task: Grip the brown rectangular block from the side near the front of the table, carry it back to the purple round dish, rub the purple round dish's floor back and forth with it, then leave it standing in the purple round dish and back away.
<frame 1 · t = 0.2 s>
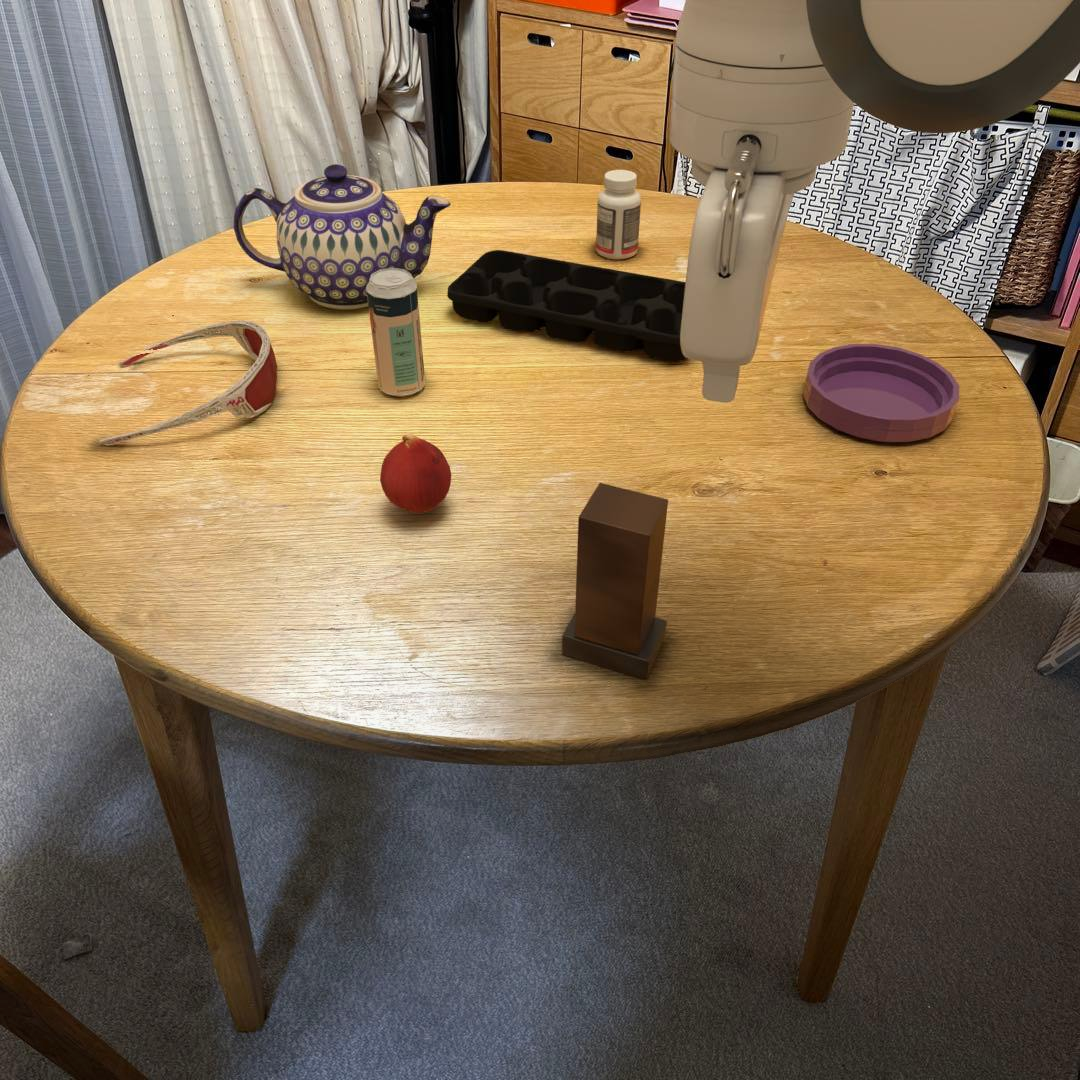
hand: (730, 352, 57), 23 cm above the table, tool pointing down, fingers open, 8 cm apart
black muffin tray: (581, 320, 109), on the table
purple round dish: (875, 405, 95), on the table
brown rectangular block: (613, 646, 70), on the table
teapot: (351, 292, 115), on the table
beer can: (402, 389, 98), on the table
pill bottle: (616, 253, 123), on the table
onion: (419, 513, 83), on the table
sunglasses: (197, 396, 97), on the table
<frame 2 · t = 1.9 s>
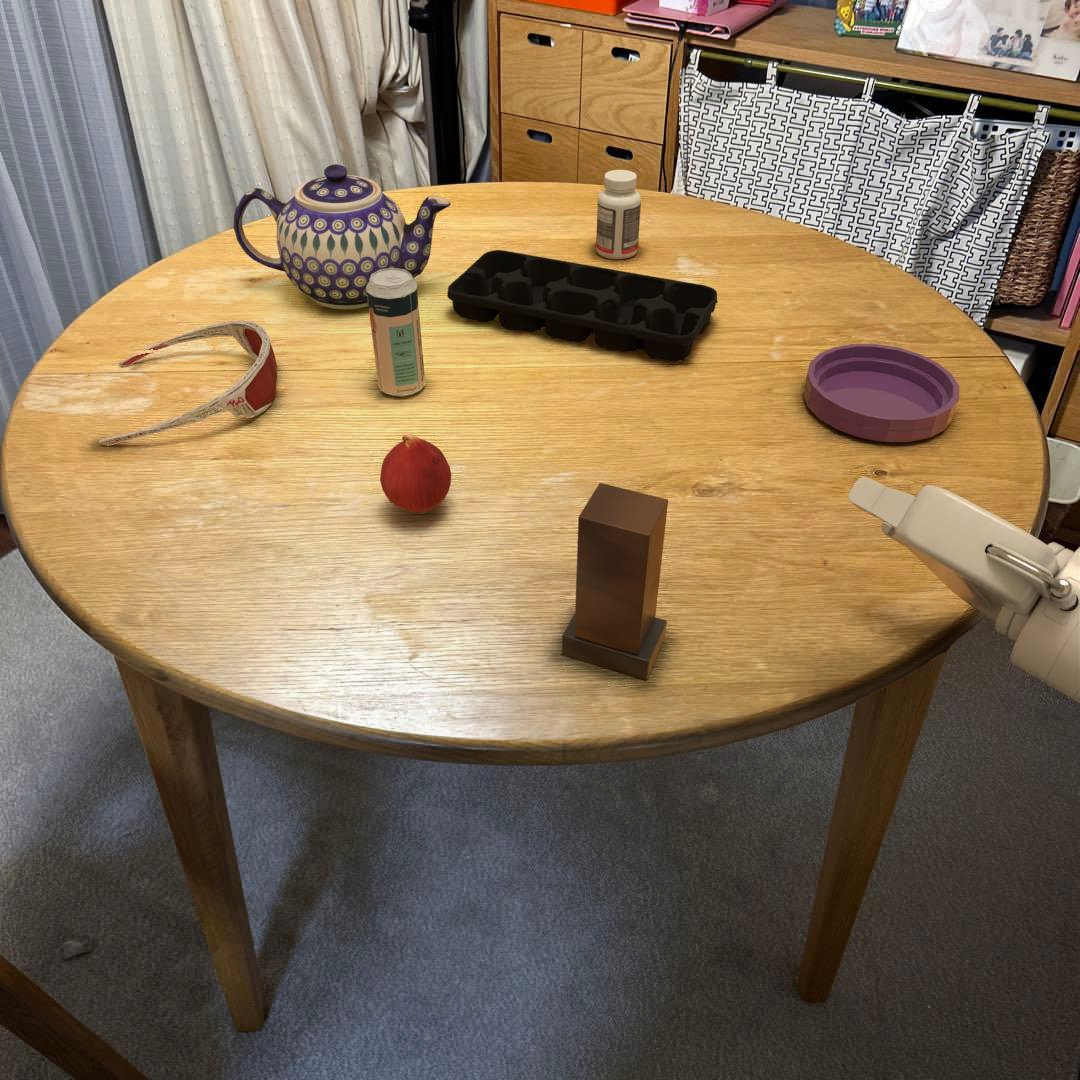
hand: (872, 506, 64), 12 cm above the table, tool horizontal, fingers open, 8 cm apart
nothing on the table moved.
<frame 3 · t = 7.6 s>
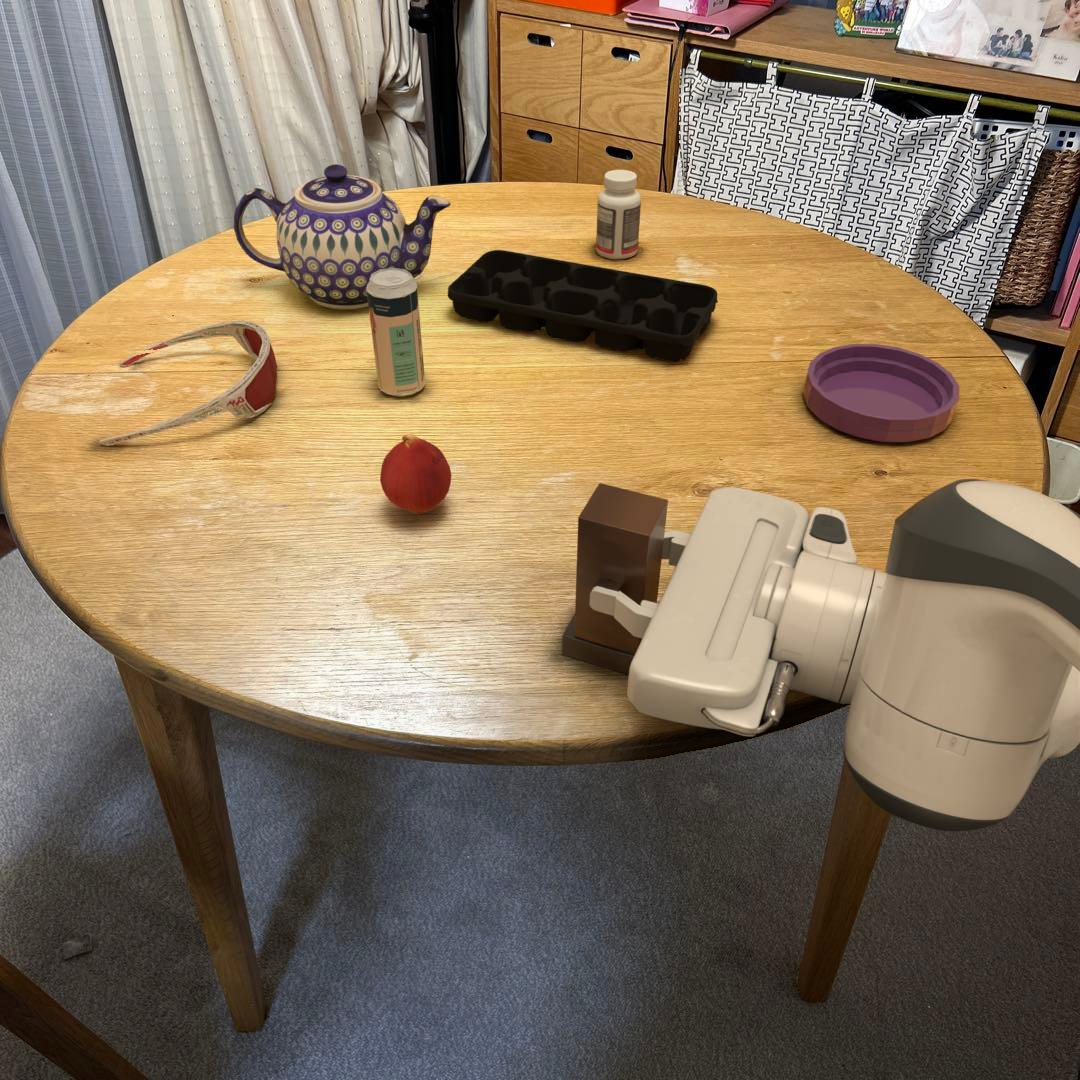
hand: (606, 567, 66), 8 cm above the table, tool horizontal, fingers closed on brown rectangular block, 4 cm apart
brown rectangular block: (613, 646, 70), on the table, touching gripper
everything else where it was.
when the fingers open (8 cm above the table, at t = 20.2 s): brown rectangular block stays where it is, resting on purple round dish.
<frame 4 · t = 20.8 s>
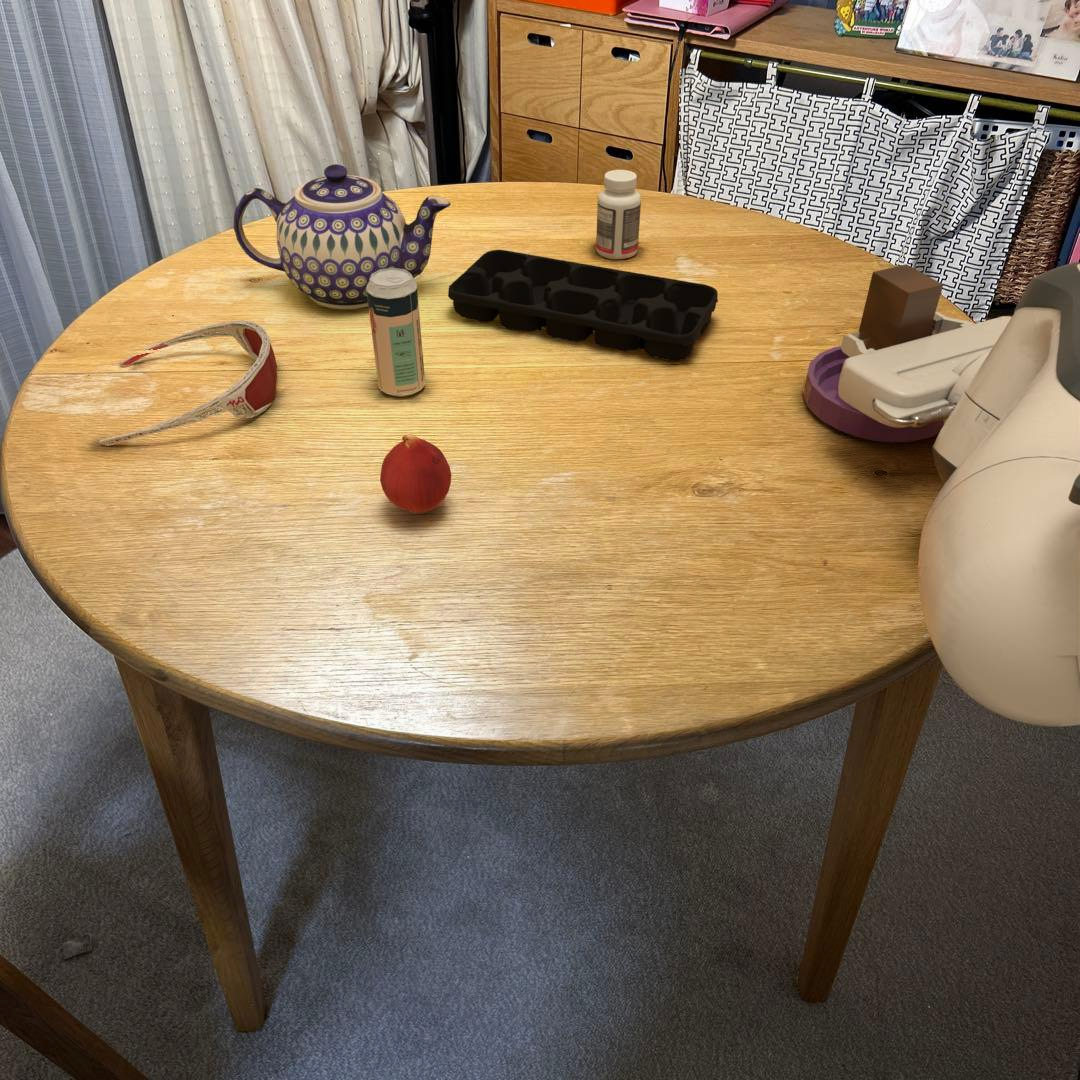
hand: (887, 329, 91), 8 cm above the table, tool horizontal, fingers open, 8 cm apart
brown rectangular block: (875, 401, 95), point 1 cm above the table, touching purple round dish
everything else where it was.
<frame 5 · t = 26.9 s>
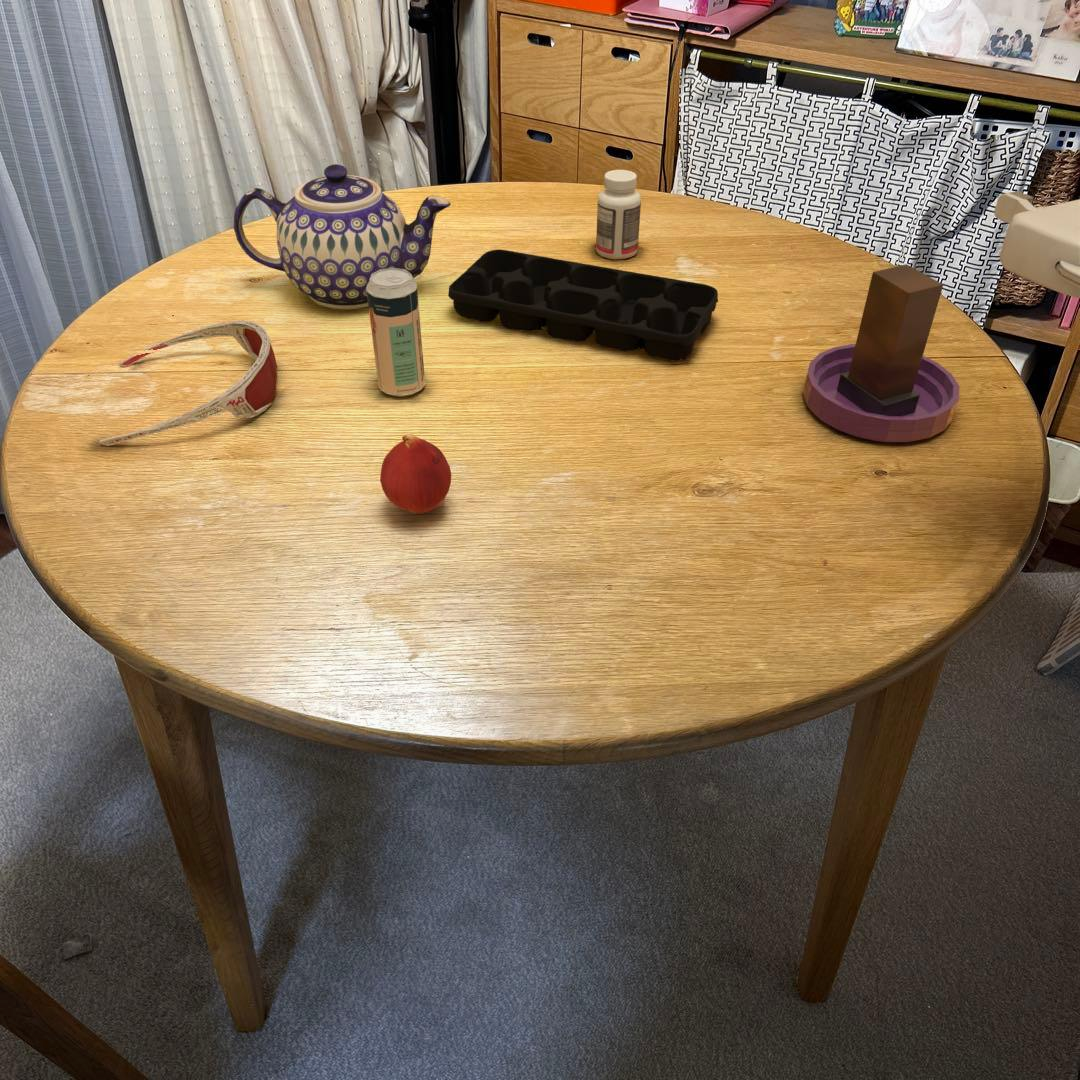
hand: (1050, 192, 72), 25 cm above the table, tool horizontal, fingers open, 8 cm apart
nothing on the table moved.
at the end: brown rectangular block inside the target area in the purple round dish (0.2 cm from its centre), point 0.5 cm above the purple round dish's base; brown rectangular block tilted 0°; the gripper is holding nothing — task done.
